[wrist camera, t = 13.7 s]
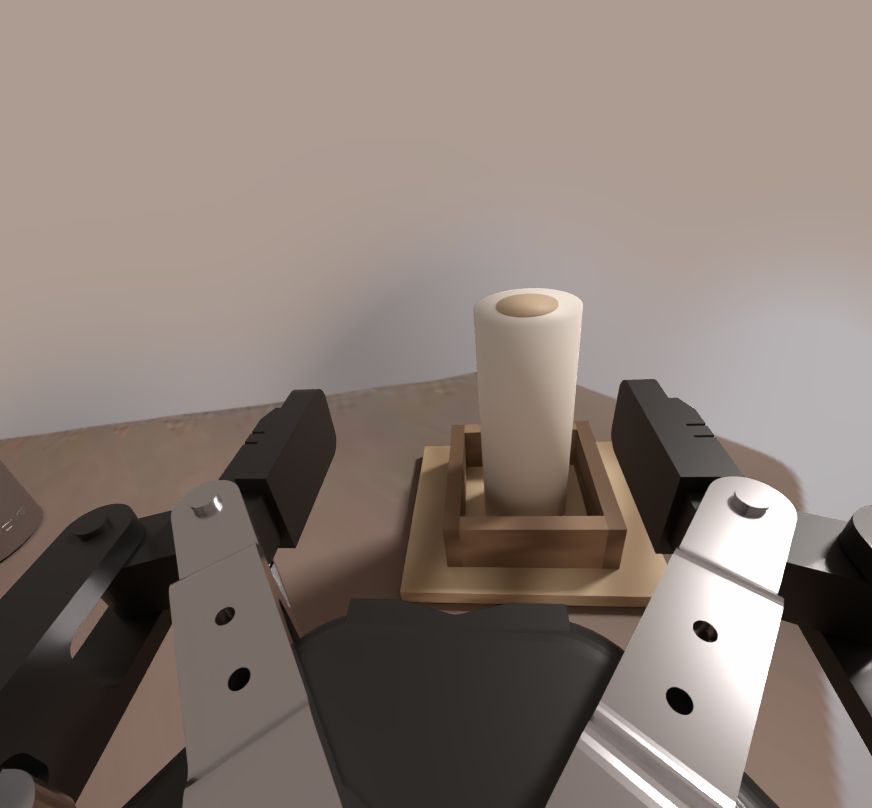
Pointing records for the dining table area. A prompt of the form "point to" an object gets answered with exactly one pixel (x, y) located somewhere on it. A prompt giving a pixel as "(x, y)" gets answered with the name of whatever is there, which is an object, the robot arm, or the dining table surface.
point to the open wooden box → (528, 535)
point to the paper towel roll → (527, 397)
